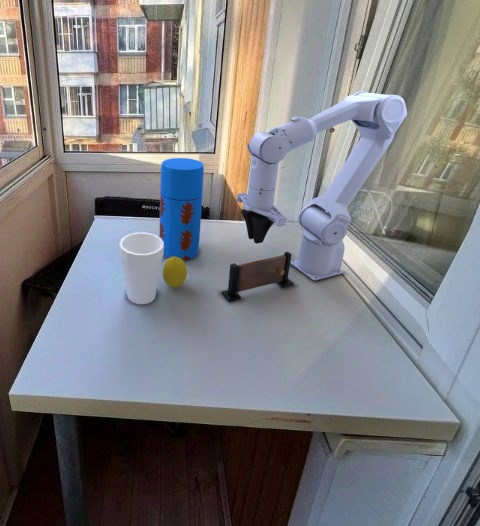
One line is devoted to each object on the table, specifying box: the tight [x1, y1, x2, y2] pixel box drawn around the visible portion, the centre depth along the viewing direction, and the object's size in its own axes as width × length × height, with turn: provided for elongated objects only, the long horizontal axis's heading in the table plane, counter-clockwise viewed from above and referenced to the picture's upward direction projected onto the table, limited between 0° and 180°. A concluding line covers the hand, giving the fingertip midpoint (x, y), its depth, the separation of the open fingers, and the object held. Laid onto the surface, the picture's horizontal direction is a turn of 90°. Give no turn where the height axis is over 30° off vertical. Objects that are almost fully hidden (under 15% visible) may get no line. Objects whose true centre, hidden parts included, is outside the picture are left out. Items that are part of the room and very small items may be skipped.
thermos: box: [158, 157, 205, 262], centre depth 88 cm, size 11×11×25 cm
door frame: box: [221, 251, 295, 303], centre depth 74 cm, size 17×3×8 cm, turn 109°
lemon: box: [161, 256, 188, 289], centre depth 75 cm, size 6×6×8 cm
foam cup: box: [118, 231, 164, 305], centre depth 72 cm, size 10×9×13 cm
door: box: [235, 254, 286, 294], centre depth 74 cm, size 13×2×6 cm, turn 109°
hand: (255, 240), depth 78 cm, fingers closed
